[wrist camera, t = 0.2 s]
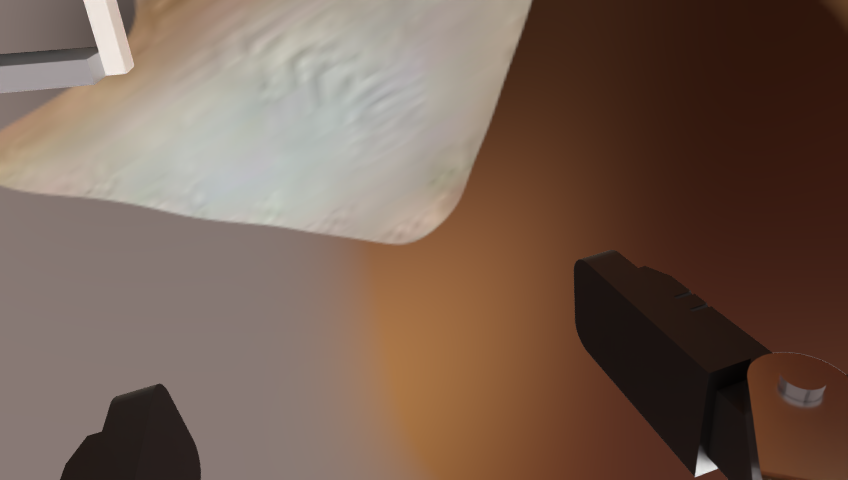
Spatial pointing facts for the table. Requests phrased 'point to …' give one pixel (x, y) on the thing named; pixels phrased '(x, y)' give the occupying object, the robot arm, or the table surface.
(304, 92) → the table surface
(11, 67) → the light grey piece
